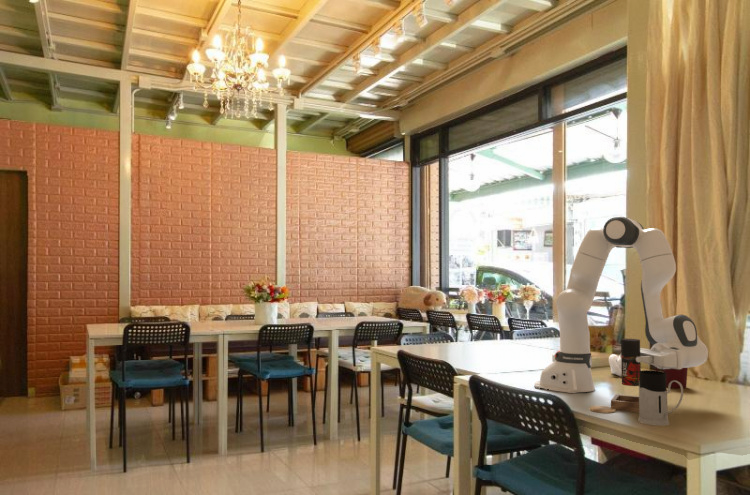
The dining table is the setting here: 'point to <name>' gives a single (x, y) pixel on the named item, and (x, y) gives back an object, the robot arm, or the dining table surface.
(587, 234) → the robot arm
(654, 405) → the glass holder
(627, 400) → the holder frame
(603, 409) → the cork coaster
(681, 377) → the mug
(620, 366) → the white lumpy blob
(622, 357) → the deodorant
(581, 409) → the dining table surface
